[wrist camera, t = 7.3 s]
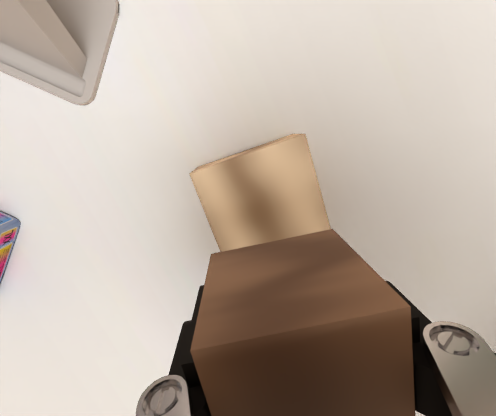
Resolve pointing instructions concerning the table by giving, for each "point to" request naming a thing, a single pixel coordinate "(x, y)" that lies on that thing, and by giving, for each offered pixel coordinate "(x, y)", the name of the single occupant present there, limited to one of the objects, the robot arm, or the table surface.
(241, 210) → the oak block
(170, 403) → the robot arm
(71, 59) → the phone holder
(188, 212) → the table surface
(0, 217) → the ink cartridge box
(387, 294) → the walnut cube
